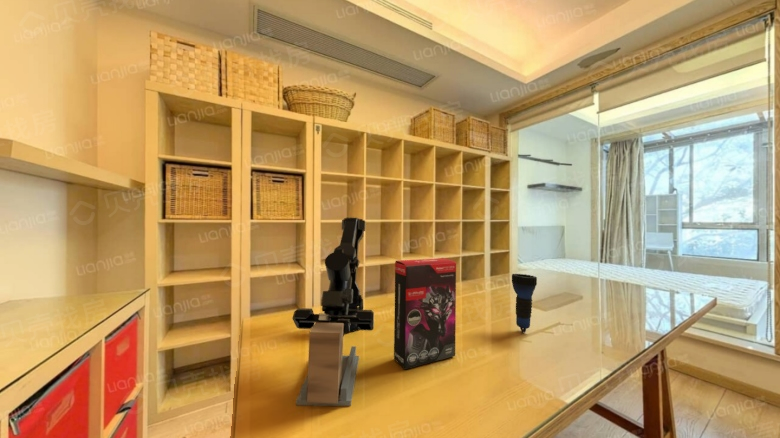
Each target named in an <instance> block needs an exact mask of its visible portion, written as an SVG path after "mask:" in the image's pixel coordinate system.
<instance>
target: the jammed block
mask: <svg viewBox="0 0 780 438" xmlns="http://www.w3.org/2000/svg"><path fill="white" fill-rule="evenodd" d="M343 327H344V323H318V322H316V323H314V326H313V327H312V328H311V329H310V331H309V334H308V337H309V338H308V361H307V362H308V365H307V375H308V388H307V403H338V399H339V395H340V391H341V385H342V356H343V355H344V352H343V351H344V349H343V348H344V336H343Z"/></svg>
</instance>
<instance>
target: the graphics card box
mask: <svg viewBox="0 0 780 438" xmlns="http://www.w3.org/2000/svg"><path fill="white" fill-rule="evenodd" d="M456 292H457V262H456V261H455V260H452V259H449V258H444V257H441V258H428V259H426V258H425V259H424V258H423V259H405V260H395V261H394V320H393V321H394V329H393V330H394V332H393V333H394V334H393V336H394V337H393V358H394V359H393V360H394V361H396V362H397V363H398V364H399V365H400V366H401V367H402V369H404V370H409V369H413V368H416V367H420V366H422V365H423V366H424V365H426V364H430V363H434V362H438V361H442V360H444V359H448V358H452V357H455V356H456V331H457V330H456V326H457V325H456V324H457V323H456V320H457V319H456V318H457V317H456V316H457V315H456V313H457V309H456V307H457V306H456V305H457V299H456V298H457V296H456V294H457V293H456Z"/></svg>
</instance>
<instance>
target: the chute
mask: <svg viewBox="0 0 780 438" xmlns="http://www.w3.org/2000/svg"><path fill="white" fill-rule="evenodd" d="M356 351H357V346H356V345H355V346H354V345H353V346H351V347H350V352H349V355H346V354H345V355H344V354H343V356H342V385H341V391H340V395H339V399H338V403H307V388H308V374H307V375H306V377H305V379H304V381H303V383H302V385H301V387H300V391H299V393H298V396H297V398H296V399H295V405H296V406H321V407H322V406H323V407H324V406H325V407H326V406H330V407H331V406H332V407H351V405H352V399H353V394H354V388H355V383H356V377H357V372H358V366H359V360H360V355H356V353H357V352H356Z"/></svg>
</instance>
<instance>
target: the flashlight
mask: <svg viewBox="0 0 780 438" xmlns="http://www.w3.org/2000/svg"><path fill="white" fill-rule="evenodd" d="M537 279H538V278H537V276H536V275H535V276H534V275H531V274H527V273H524V274H523V273H512V274H511V283H512V288H513V290H514V293H515V294H516V297H515V316H516V318H515V321H516V325H517V326H516V327H519V328H520V331H521V333H523V332H524V333H526V331H527V329H529V328H530V327H531V317H532V311H533V306H532V305H533V294H534V291H535V289H536V287H537V284H538V282H537V281H538V280H537ZM524 333H523V334H524Z"/></svg>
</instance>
